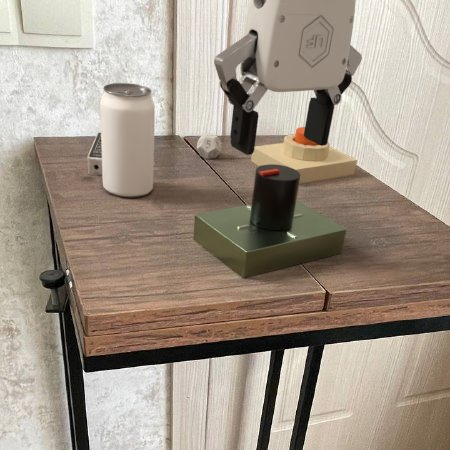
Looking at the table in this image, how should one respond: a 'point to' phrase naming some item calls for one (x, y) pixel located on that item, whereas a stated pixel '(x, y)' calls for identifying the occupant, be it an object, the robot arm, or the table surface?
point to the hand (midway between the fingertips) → (279, 145)
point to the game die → (209, 146)
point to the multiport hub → (95, 157)
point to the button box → (306, 159)
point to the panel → (267, 239)
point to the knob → (274, 197)
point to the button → (301, 139)
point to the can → (127, 139)
